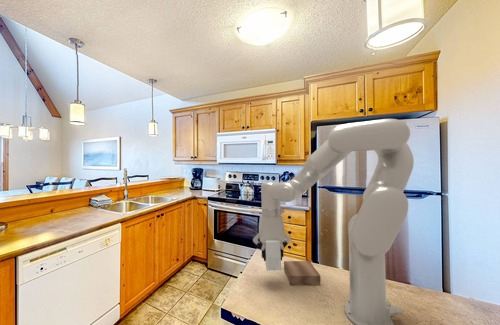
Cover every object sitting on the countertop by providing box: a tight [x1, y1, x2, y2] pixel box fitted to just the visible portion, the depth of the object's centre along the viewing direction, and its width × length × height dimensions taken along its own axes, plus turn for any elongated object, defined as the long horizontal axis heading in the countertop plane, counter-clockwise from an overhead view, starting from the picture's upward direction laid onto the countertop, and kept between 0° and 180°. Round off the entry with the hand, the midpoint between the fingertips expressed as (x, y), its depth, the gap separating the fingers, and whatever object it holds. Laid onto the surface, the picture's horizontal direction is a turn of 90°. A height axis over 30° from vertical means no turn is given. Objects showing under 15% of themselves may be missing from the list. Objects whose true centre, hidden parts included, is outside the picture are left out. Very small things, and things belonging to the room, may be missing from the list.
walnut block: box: [283, 260, 321, 286], centre depth 78 cm, size 12×12×4 cm
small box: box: [264, 240, 282, 272], centre depth 72 cm, size 8×6×10 cm
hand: (272, 258), depth 71 cm, fingers closed on small box, 5 cm apart
